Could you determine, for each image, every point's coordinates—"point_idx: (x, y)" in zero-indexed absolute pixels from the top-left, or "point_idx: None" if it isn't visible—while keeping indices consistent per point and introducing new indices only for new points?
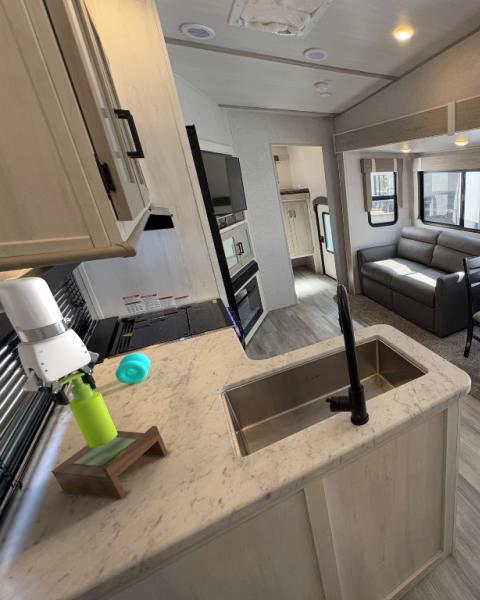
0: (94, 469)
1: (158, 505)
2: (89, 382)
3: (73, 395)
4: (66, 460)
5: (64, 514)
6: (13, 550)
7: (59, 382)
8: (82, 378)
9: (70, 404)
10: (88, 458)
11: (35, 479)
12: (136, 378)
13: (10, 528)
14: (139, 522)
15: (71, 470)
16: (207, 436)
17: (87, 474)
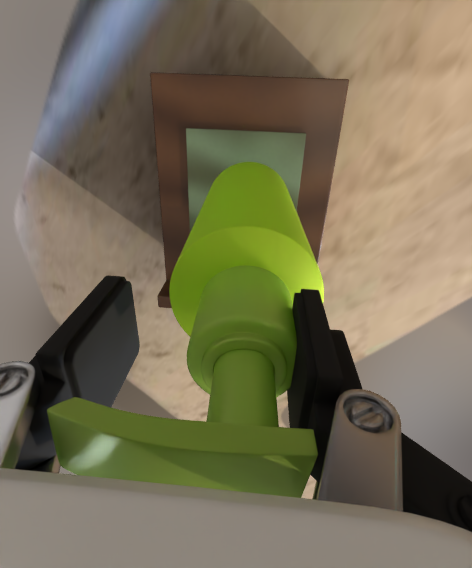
0: (179, 225)
1: (182, 337)
2: (288, 406)
3: (194, 321)
4: (195, 77)
5: (128, 164)
6: (46, 137)
7: (91, 456)
8: (299, 396)
9: (176, 277)
10: (208, 165)
11: None
12: None
13: (67, 50)
14: (151, 329)
15: (165, 152)
16: (354, 323)
17: (162, 222)
